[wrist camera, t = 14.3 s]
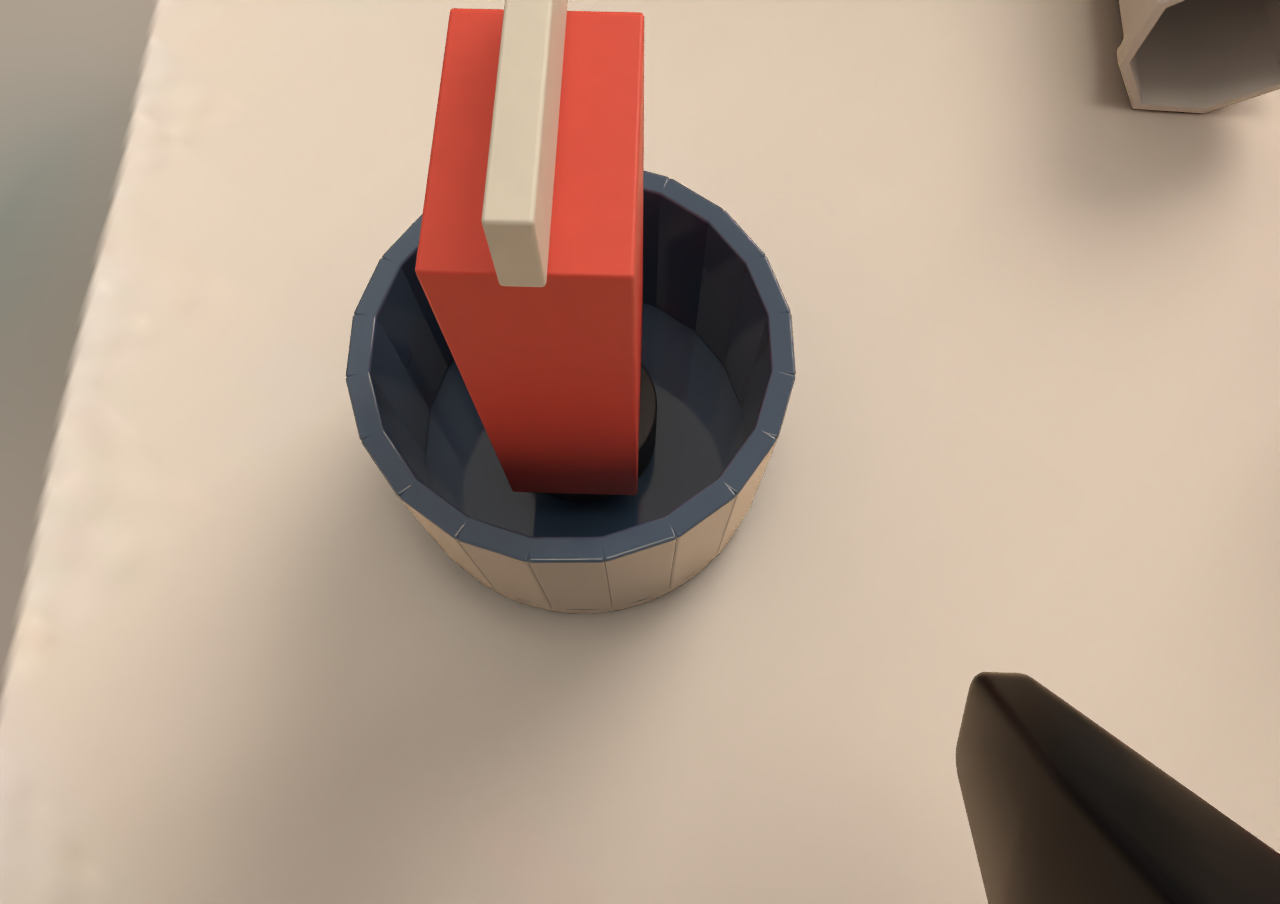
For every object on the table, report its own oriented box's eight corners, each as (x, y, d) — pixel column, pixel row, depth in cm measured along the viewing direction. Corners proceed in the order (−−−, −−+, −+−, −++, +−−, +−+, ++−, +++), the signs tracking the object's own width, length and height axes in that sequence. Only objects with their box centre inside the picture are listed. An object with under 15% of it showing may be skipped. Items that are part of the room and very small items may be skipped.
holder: (812, 548, 22) (865, 478, 17) (461, 664, 21) (403, 626, 16) (692, 253, 25) (706, 116, 20) (379, 342, 24) (308, 223, 19)
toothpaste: (653, 529, 22) (669, 226, 10) (506, 524, 22) (345, 218, 10) (658, 352, 23) (675, -89, 11) (521, 348, 23) (398, -95, 11)
